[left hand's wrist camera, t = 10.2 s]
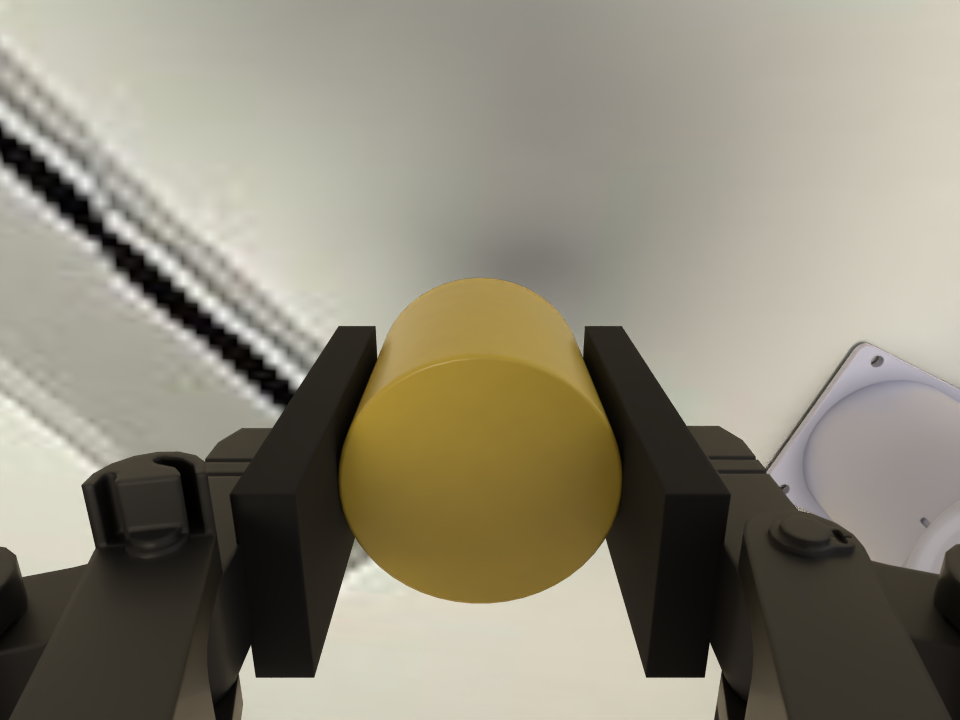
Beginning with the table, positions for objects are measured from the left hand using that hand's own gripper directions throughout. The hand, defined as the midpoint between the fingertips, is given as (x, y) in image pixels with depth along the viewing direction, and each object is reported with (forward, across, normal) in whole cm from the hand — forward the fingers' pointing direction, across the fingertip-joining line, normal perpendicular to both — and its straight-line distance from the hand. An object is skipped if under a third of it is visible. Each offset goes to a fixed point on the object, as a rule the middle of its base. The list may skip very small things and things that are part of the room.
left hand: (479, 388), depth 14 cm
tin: (0, 0, 0) cm, 0 cm away
